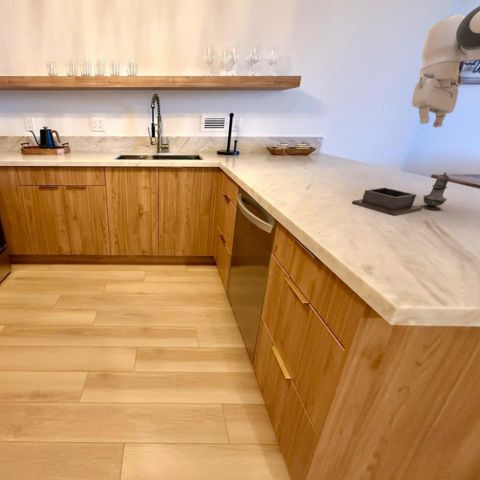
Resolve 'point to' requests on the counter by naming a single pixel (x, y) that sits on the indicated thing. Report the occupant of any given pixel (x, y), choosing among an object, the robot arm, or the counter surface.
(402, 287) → the counter surface
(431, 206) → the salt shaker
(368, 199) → the dark grey square tray
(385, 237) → the counter surface
